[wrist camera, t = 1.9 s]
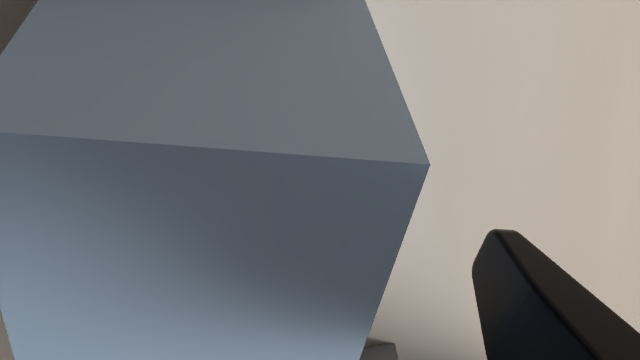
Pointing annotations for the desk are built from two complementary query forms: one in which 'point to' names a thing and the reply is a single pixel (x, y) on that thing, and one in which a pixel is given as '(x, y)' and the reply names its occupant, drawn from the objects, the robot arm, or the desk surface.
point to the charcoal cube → (379, 352)
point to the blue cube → (200, 179)
